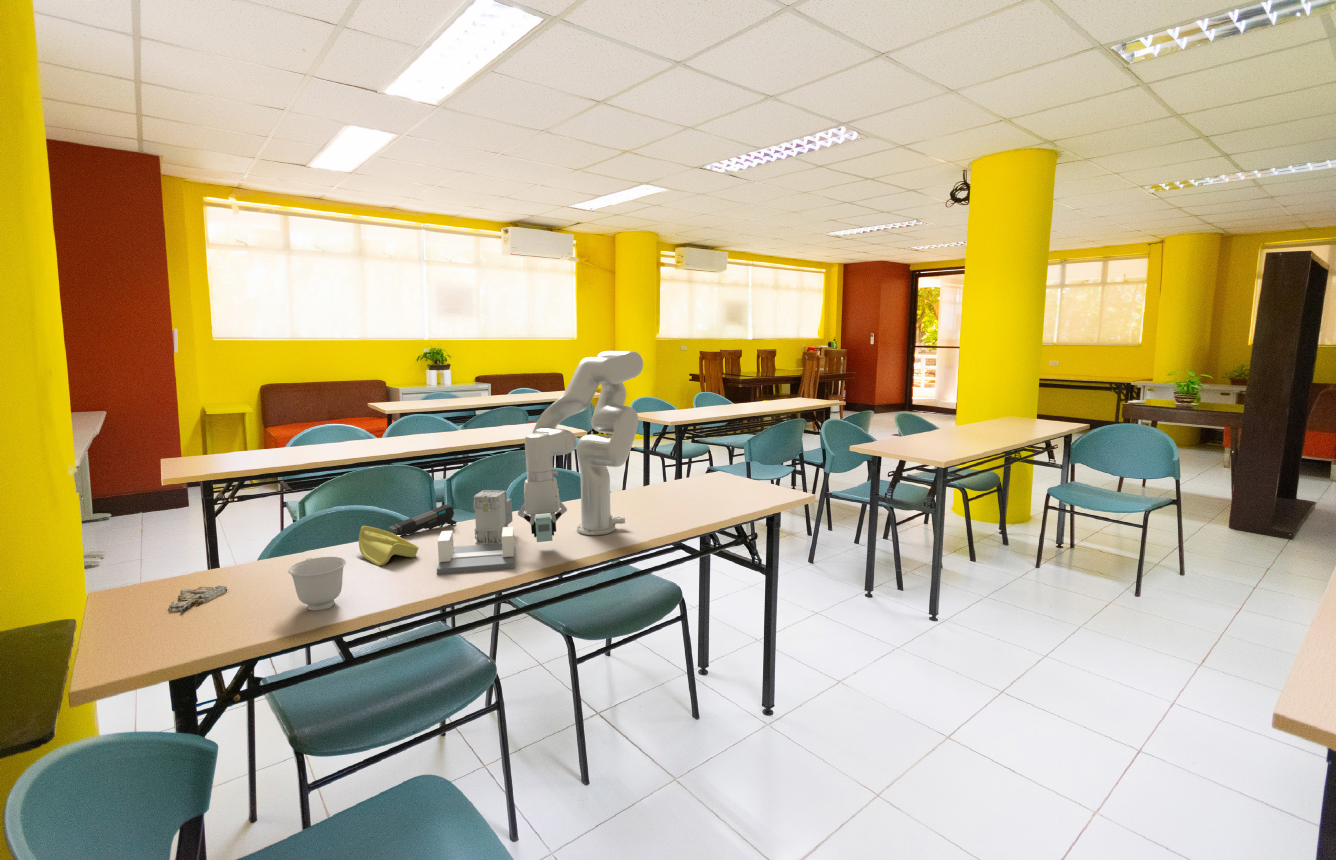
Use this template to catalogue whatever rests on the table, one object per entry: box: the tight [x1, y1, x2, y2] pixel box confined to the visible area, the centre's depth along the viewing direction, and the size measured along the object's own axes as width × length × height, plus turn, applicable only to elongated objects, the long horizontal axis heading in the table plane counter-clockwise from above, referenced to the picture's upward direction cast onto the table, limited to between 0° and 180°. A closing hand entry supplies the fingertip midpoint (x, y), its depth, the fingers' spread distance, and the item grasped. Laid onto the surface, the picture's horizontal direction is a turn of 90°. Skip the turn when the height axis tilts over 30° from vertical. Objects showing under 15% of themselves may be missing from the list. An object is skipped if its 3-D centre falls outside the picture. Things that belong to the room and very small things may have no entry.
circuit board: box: [168, 585, 228, 614], centre depth 154 cm, size 12×15×2 cm
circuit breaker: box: [472, 489, 513, 545], centre depth 201 cm, size 8×14×15 cm, turn 174°
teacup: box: [287, 556, 347, 611], centre depth 151 cm, size 12×15×10 cm
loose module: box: [535, 513, 554, 543], centre depth 188 cm, size 4×7×6 cm, turn 13°
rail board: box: [436, 526, 516, 575], centre depth 181 cm, size 20×18×8 cm
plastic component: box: [358, 525, 420, 567], centre depth 186 cm, size 20×7×10 cm
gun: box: [388, 504, 457, 536], centre depth 208 cm, size 4×20×10 cm, turn 133°
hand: (544, 534), depth 189 cm, fingers closed on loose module, 4 cm apart
